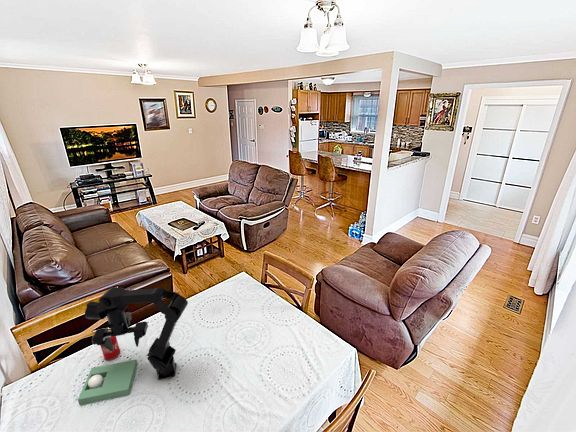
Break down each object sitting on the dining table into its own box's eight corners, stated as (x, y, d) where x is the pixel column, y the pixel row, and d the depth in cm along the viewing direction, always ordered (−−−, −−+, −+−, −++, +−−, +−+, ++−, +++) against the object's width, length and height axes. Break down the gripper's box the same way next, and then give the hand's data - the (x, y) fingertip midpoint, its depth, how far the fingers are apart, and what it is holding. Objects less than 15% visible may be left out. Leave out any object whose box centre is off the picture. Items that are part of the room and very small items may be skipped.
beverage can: (113, 362, 123) (106, 341, 119) (101, 359, 124) (94, 339, 120) (123, 350, 129) (117, 330, 124) (112, 348, 130) (105, 328, 126)
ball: (93, 382, 115) (106, 378, 116) (88, 393, 110) (102, 389, 111) (88, 373, 113) (102, 370, 114) (83, 385, 108) (97, 381, 109)
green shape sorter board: (137, 364, 122) (136, 359, 121) (129, 394, 110) (127, 389, 109) (93, 373, 118) (91, 367, 117) (79, 405, 106) (77, 399, 105)
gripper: (147, 301, 119) (153, 329, 125) (97, 308, 115) (106, 337, 121) (141, 319, 109) (148, 349, 115) (86, 328, 105) (97, 359, 111)
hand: (125, 348), depth 116 cm, fingers open, 9 cm apart
